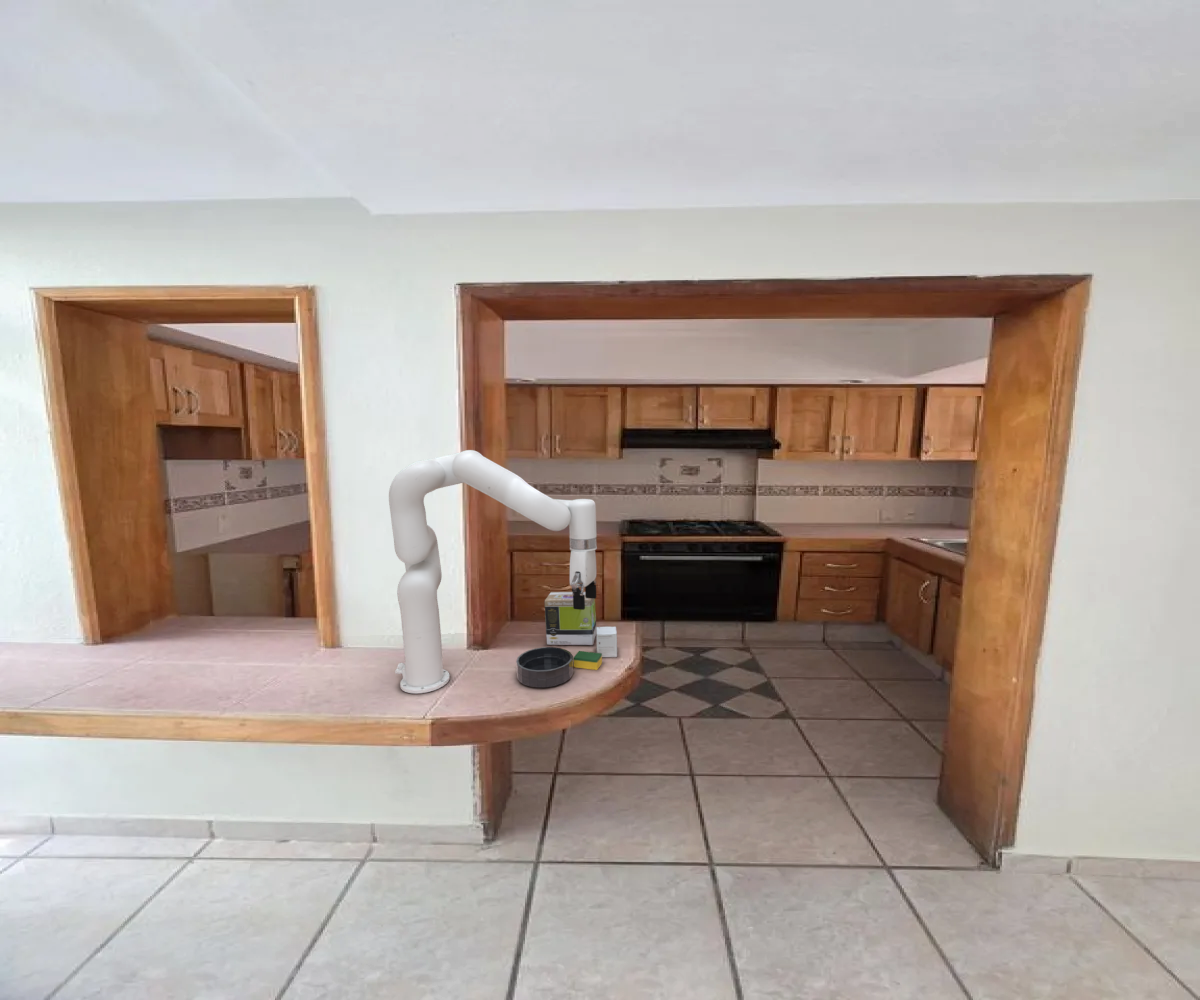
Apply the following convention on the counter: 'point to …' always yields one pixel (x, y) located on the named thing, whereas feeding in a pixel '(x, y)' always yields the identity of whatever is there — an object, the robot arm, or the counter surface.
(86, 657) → the counter surface
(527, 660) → the bowl
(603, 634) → the product box
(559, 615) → the tea box
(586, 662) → the sponge
